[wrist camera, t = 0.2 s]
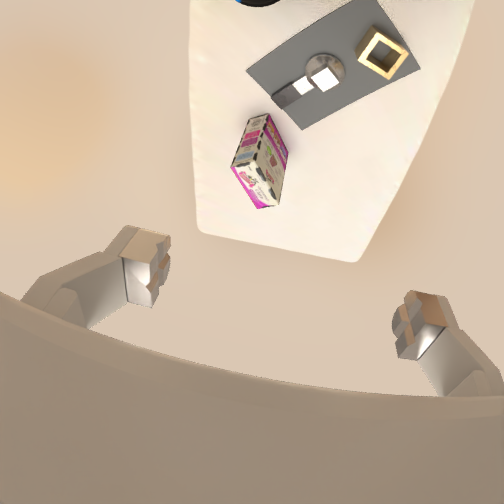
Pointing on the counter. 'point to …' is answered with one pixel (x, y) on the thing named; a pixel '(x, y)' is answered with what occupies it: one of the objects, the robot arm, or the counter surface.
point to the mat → (341, 46)
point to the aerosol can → (257, 2)
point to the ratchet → (312, 79)
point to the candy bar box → (261, 162)
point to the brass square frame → (391, 59)
